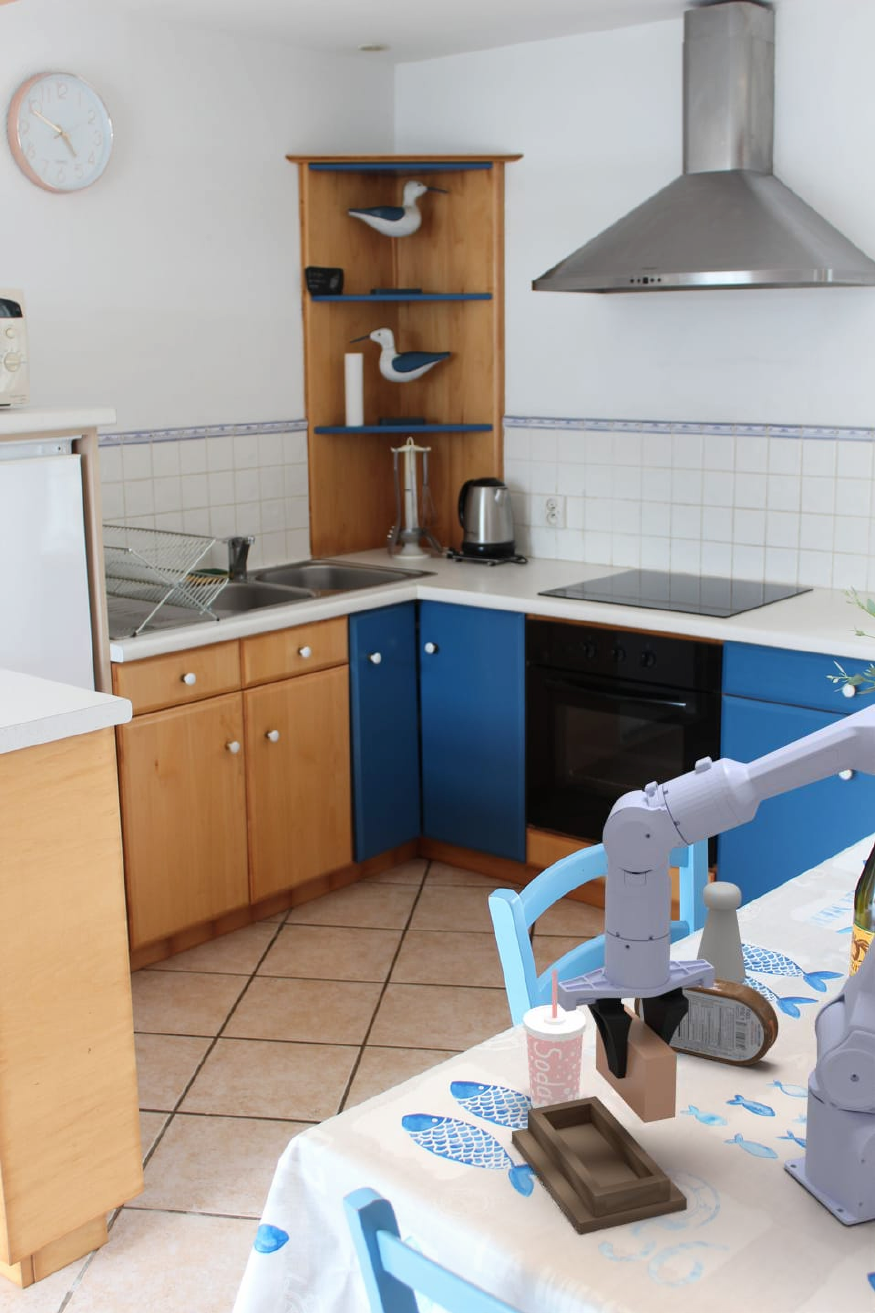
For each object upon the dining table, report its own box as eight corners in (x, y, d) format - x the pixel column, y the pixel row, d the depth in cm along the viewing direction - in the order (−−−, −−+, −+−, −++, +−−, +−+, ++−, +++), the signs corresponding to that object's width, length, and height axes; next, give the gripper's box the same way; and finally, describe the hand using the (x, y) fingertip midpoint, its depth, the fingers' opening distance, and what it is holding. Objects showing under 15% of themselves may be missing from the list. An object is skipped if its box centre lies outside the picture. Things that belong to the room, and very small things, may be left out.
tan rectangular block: (675, 1117, 119) (676, 1054, 118) (644, 1123, 118) (645, 1059, 117) (624, 1063, 128) (625, 1004, 127) (595, 1069, 128) (596, 1009, 126)
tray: (686, 1209, 116) (687, 1177, 116) (579, 1234, 113) (579, 1201, 113) (609, 1120, 130) (609, 1092, 130) (512, 1141, 127) (511, 1111, 127)
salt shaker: (683, 987, 158) (685, 881, 156) (724, 977, 161) (726, 872, 158) (714, 1007, 153) (716, 898, 150) (755, 997, 155) (758, 889, 153)
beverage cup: (510, 1104, 134) (509, 971, 131) (550, 1081, 138) (550, 951, 135) (558, 1127, 129) (558, 990, 126) (598, 1103, 134) (599, 969, 131)
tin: (778, 1064, 141) (780, 988, 139) (769, 1077, 138) (771, 1000, 136) (640, 1032, 148) (641, 959, 146) (629, 1044, 145) (630, 970, 144)
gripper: (689, 901, 126) (685, 1037, 129) (543, 922, 121) (543, 1062, 124) (728, 930, 119) (723, 1072, 122) (576, 953, 115) (574, 1100, 118)
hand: (635, 1070), depth 123 cm, fingers closed on tan rectangular block, 3 cm apart
